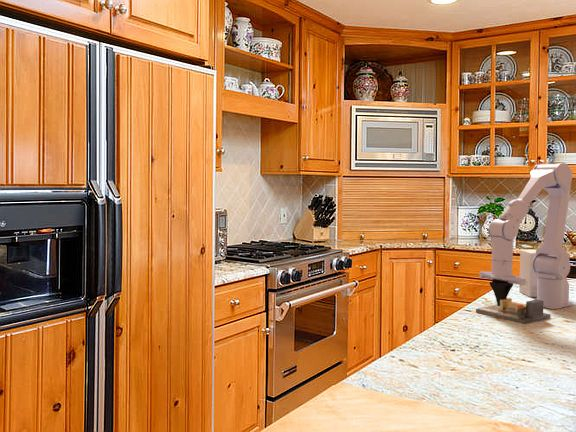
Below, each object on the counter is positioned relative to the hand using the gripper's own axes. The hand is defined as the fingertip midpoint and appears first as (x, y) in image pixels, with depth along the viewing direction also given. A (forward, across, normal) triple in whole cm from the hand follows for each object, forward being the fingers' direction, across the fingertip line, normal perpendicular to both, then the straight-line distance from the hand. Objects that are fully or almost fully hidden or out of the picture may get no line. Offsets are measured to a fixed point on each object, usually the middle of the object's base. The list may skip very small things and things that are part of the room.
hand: (501, 305), depth 163 cm
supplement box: (+2, -9, +32) cm, 33 cm away
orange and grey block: (0, +9, -4) cm, 10 cm away
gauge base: (+2, +4, 0) cm, 4 cm away
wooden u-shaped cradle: (+1, +5, -1) cm, 5 cm away
